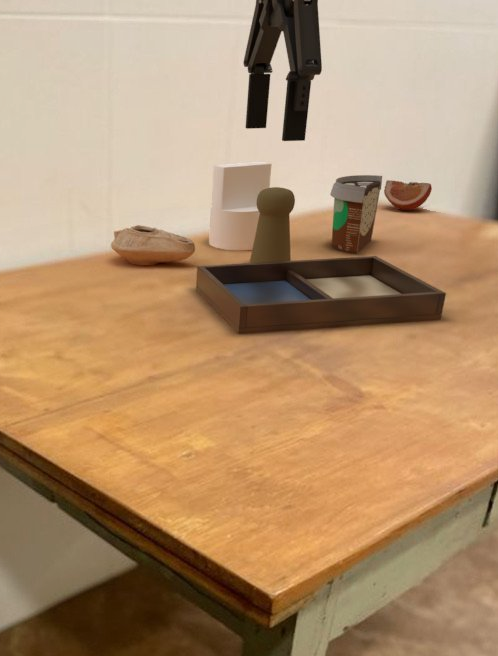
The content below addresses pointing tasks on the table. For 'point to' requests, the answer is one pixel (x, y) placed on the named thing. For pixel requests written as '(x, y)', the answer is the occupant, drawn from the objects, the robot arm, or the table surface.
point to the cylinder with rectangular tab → (236, 203)
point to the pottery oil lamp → (151, 245)
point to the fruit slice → (407, 194)
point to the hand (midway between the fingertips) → (273, 134)
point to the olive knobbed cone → (273, 225)
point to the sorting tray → (316, 294)
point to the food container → (354, 211)
